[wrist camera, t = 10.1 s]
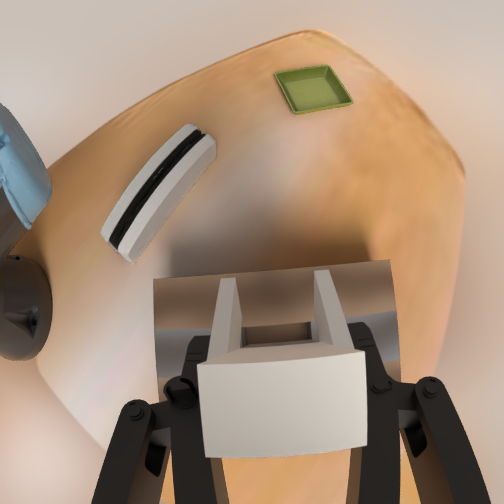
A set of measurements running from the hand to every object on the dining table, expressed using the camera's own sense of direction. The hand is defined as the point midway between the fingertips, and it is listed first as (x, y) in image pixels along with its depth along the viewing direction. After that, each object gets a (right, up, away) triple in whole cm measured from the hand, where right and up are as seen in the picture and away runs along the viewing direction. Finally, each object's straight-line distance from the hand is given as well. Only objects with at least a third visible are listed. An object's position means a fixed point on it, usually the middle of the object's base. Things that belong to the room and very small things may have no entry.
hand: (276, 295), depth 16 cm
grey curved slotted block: (-11, +8, +19) cm, 24 cm away
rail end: (+1, -5, +3) cm, 6 cm away
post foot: (+1, -7, +14) cm, 16 cm away
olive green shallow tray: (+7, +24, +22) cm, 34 cm away
